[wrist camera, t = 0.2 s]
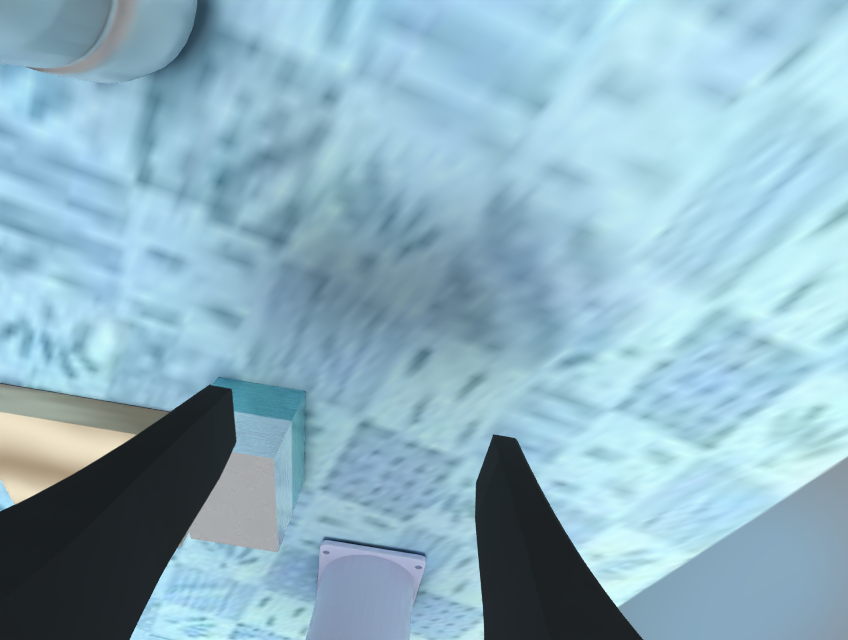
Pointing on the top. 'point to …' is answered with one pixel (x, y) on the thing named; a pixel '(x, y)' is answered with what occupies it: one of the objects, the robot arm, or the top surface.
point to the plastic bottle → (94, 36)
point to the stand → (59, 436)
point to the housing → (257, 469)
